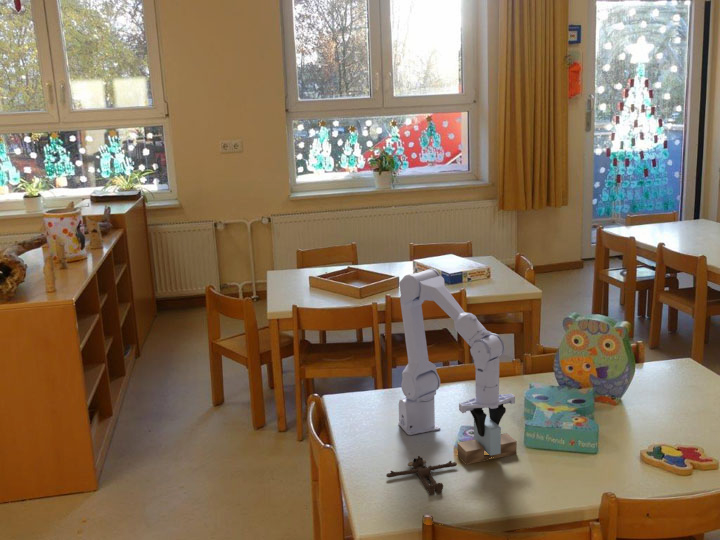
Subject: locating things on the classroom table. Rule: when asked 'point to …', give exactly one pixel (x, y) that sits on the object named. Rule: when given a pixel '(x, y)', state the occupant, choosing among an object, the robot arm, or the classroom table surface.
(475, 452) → the brown u-shaped block
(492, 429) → the pale grey-blue block
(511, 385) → the classroom table surface
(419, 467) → the brown monkey toy
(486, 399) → the robot arm
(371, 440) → the classroom table surface
